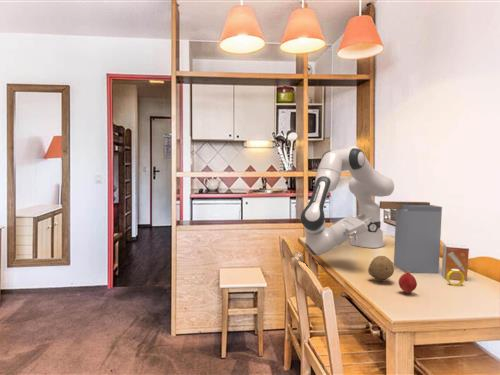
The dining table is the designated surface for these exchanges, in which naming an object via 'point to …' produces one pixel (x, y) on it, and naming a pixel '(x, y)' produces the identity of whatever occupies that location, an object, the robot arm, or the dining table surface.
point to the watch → (457, 272)
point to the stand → (418, 238)
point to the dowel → (398, 204)
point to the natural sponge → (381, 268)
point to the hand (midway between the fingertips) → (368, 216)
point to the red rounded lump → (407, 282)
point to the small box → (455, 261)
